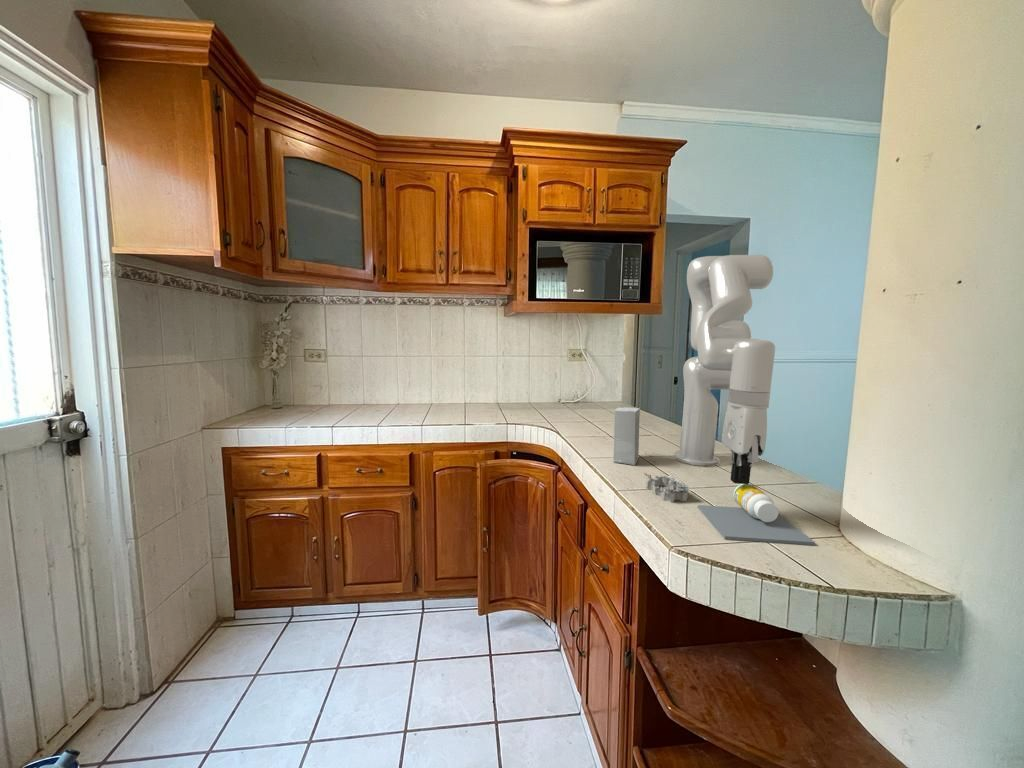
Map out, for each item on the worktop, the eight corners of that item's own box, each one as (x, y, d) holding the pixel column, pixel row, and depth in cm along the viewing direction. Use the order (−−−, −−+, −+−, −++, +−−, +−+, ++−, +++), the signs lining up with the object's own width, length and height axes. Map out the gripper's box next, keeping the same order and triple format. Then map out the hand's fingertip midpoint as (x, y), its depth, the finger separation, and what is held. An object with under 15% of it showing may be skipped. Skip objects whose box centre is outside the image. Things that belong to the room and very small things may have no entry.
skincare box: (635, 466, 118) (638, 412, 116) (610, 462, 121) (613, 409, 119) (639, 458, 126) (642, 407, 124) (615, 454, 129) (618, 404, 127)
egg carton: (641, 487, 103) (642, 471, 103) (667, 485, 104) (668, 470, 104) (663, 504, 93) (665, 487, 92) (692, 502, 94) (694, 485, 94)
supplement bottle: (727, 494, 91) (747, 512, 82) (745, 477, 91) (768, 494, 81) (745, 510, 91) (767, 530, 82) (763, 494, 91) (788, 512, 81)
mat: (697, 507, 91) (698, 504, 91) (773, 512, 90) (773, 509, 90) (724, 539, 77) (725, 536, 77) (814, 545, 76) (815, 542, 76)
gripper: (715, 392, 94) (708, 469, 97) (746, 404, 79) (737, 495, 82) (749, 394, 94) (741, 471, 96) (787, 406, 79) (776, 497, 81)
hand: (739, 482), depth 89 cm, fingers closed
